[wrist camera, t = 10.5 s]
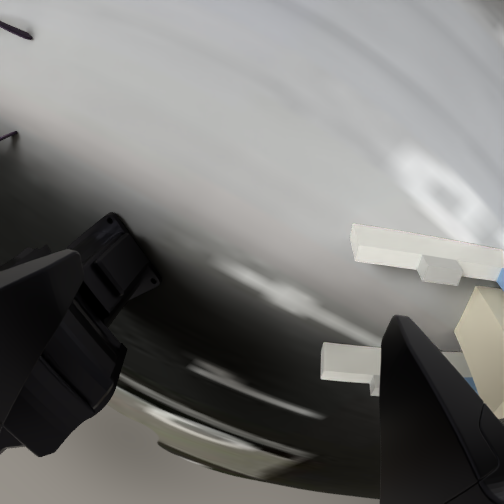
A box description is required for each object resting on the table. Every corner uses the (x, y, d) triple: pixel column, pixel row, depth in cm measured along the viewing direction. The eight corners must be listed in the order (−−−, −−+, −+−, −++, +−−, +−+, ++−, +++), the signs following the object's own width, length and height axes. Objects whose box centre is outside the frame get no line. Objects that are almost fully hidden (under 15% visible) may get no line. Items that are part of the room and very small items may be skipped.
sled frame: (321, 350, 25) (320, 400, 20) (352, 223, 19) (364, 263, 15) (493, 360, 23) (510, 399, 18) (546, 259, 17) (578, 294, 13)
